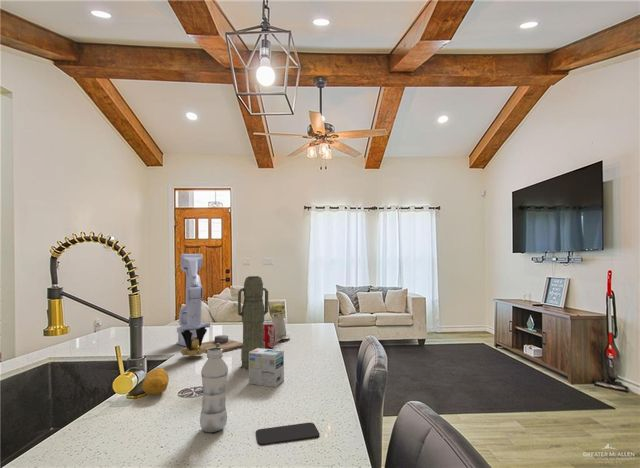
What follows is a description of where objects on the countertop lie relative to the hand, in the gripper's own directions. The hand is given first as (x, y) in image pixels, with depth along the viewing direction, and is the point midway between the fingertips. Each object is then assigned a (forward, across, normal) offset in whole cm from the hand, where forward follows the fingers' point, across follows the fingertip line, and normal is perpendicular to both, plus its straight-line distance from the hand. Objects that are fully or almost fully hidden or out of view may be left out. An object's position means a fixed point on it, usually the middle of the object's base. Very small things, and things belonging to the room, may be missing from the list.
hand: (193, 347), depth 156 cm
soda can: (+4, +29, -14) cm, 33 cm away
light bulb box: (+4, 0, -46) cm, 46 cm away
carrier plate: (+4, +17, +6) cm, 19 cm away
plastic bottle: (+4, -31, -61) cm, 69 cm away
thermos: (+4, +9, -28) cm, 30 cm away
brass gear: (+2, 0, 0) cm, 2 cm away
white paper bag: (+5, +45, -4) cm, 45 cm away
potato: (+4, -29, -26) cm, 39 cm away
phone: (+5, -21, -77) cm, 80 cm away
